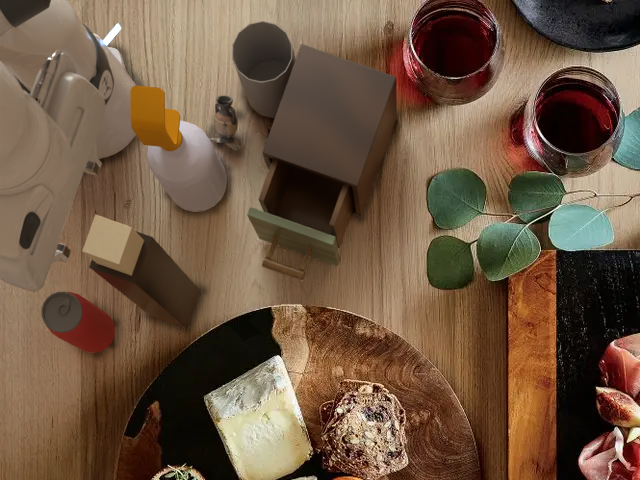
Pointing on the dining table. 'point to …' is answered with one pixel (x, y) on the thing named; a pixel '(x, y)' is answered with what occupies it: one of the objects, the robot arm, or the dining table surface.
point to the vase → (225, 122)
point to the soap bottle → (177, 151)
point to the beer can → (78, 321)
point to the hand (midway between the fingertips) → (77, 211)
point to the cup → (263, 64)
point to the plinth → (155, 284)
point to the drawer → (302, 216)
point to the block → (113, 245)
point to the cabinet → (334, 121)
